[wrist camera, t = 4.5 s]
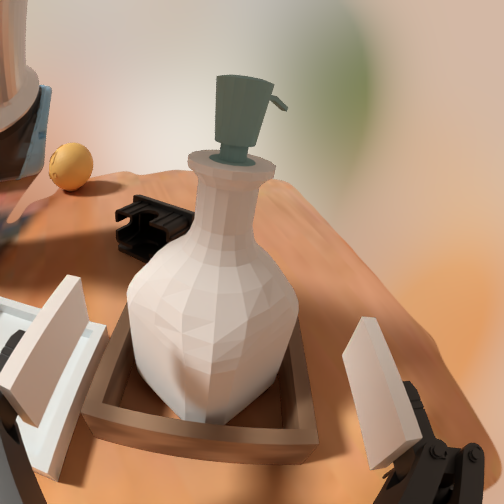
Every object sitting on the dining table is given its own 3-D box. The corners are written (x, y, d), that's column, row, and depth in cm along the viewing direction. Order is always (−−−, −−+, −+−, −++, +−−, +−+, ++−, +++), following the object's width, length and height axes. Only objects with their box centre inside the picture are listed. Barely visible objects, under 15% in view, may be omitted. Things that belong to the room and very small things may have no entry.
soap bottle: (282, 383, 25) (370, 105, 14) (203, 449, 19) (259, 65, 7) (207, 325, 30) (241, 80, 19) (127, 369, 23) (115, 68, 12)
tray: (-67, 406, 11) (-78, 393, 10) (-3, 307, 24) (-8, 293, 23) (57, 482, 13) (47, 473, 12) (109, 340, 26) (106, 325, 25)
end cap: (200, 252, 43) (205, 207, 39) (171, 275, 37) (173, 225, 33) (146, 230, 45) (147, 189, 42) (114, 248, 39) (112, 203, 36)
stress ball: (98, 191, 58) (92, 155, 60) (93, 166, 49) (88, 127, 51) (56, 203, 54) (52, 165, 56) (44, 180, 45) (43, 139, 47)
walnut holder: (94, 437, 17) (80, 412, 15) (140, 308, 30) (138, 278, 28) (301, 464, 18) (319, 444, 16) (285, 328, 32) (294, 299, 30)
